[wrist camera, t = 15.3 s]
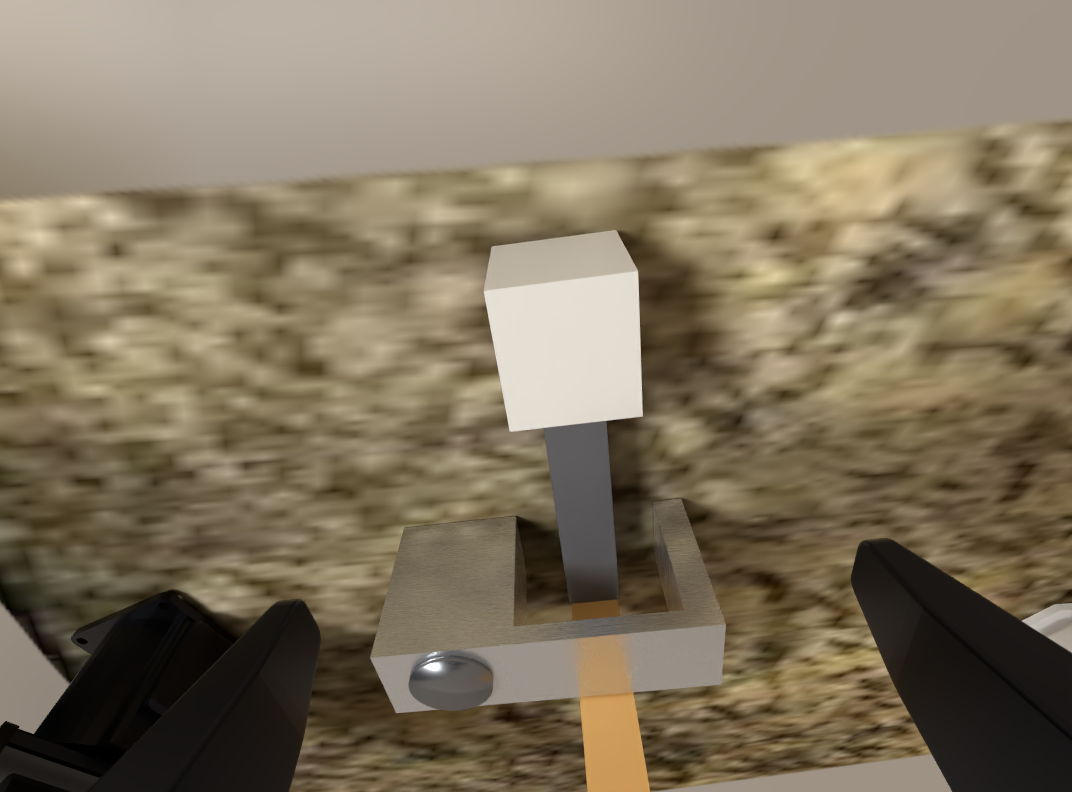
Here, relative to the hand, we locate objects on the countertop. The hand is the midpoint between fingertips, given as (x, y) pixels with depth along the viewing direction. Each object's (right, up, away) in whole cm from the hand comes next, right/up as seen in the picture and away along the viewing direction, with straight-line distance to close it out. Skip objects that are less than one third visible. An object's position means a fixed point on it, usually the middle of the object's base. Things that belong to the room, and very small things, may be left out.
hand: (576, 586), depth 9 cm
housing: (0, -4, +16) cm, 16 cm away
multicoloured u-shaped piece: (+1, +1, +13) cm, 13 cm away
